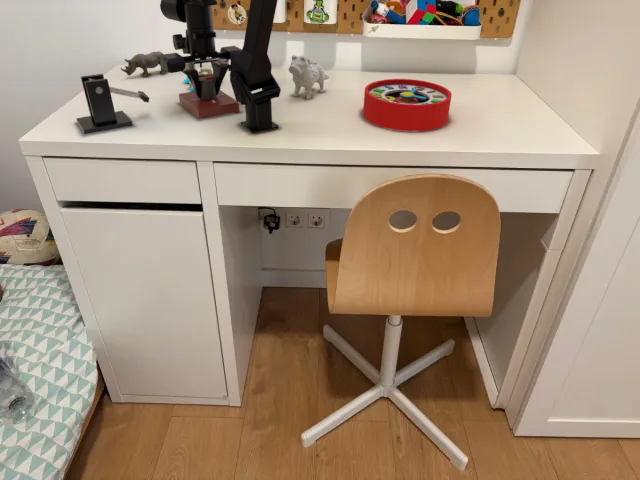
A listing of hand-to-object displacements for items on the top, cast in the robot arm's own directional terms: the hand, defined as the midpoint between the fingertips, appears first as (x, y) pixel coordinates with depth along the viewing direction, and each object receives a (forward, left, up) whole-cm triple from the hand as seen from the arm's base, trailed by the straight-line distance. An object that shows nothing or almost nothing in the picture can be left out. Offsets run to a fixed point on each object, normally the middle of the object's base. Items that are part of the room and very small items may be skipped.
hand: (207, 95), depth 117 cm
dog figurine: (-3, -26, -3) cm, 26 cm away
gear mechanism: (+21, -7, -3) cm, 22 cm away
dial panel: (0, 0, -3) cm, 3 cm away
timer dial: (0, 0, 0) cm, 0 cm away
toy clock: (-28, -38, -3) cm, 47 cm away
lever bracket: (+1, +24, -3) cm, 24 cm away
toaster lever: (+1, +20, +3) cm, 20 cm away
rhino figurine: (+35, +5, -3) cm, 35 cm away
